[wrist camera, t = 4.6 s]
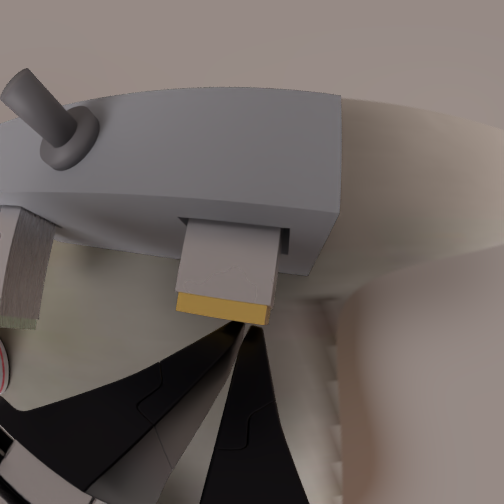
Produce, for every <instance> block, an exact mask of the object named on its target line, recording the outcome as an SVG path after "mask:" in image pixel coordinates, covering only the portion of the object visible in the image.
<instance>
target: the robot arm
mask: <svg viewBox="0 0 504 504" xmlns="http://www.w3.org/2000/svg"><path fill="white" fill-rule="evenodd" d="M244 328H245V323H244V322H240V321H233V320H232V321H231V322H229V323H227V324H225V325H224V326H222V327H220V328H219V329H217V330H215V331H213V332H212V333H210V334H208V335H206V336H205V337H203V338H201V339H199V340H198V341H196V342H194V343H192V344H191V345H189V346H187V347H185V348H183V349H182V350H180V351H178V352H176V353H174V354H173V355H171V356H169V357H167V358H165V359H163V360H162V361H160V363H159V362H157V363H155V364H154V365H152V366H150V367H148V368H146V369H144V370H142V371H140V372H138V373H135V374H133V375H131V376H128V377H126V378H123V379H121V380H118V381H115V382H113V383H110V384H107V385H105V386H102V387H99V388H96V389H93V390H91V391H88V392H85V393H82V394H79V395H76V396H73V397H70V398H67V399H64V400H61V401H58V402H55V403H52V404H49V405H45V406H42V407H39V408H36V409H32V410H29V411H19V410H16V409H15V408H14V407H13V406H12V405H10V404H9V403H8V402H7V401H6V400H5V399H4V398H3V397H2V396H0V425H1V426H2V427H3V428H4V429H5V430H6V431H7V432H8V433H9V434H10V435H11V436H12V437H13V438H14V440H13V439H12V438H11V437H10V436H9V435H8V434H7V433H6V432H5V431H4V430H3V429H2V428H1V427H0V504H156V503H157V501H158V499H159V496H160V494H161V492H162V490H163V487H164V485H165V483H166V481H167V479H168V477H169V475H170V473H171V472H172V469H174V467H175V465H176V464H177V462H178V461H179V459H180V457H181V456H182V454H183V453H184V451H185V449H186V448H187V446H188V445H189V443H190V441H191V440H192V438H193V436H194V435H195V433H196V431H197V430H198V428H199V426H200V425H201V423H202V421H203V420H204V418H205V416H206V415H207V413H208V411H209V410H210V408H211V406H212V405H213V403H214V401H215V399H216V398H217V396H218V394H219V393H220V391H221V389H222V387H223V386H224V384H225V382H226V380H227V378H228V376H229V374H230V372H231V369H232V367H233V364H234V362H235V359H236V356H237V359H236V363H235V367H234V371H233V375H232V379H231V383H230V387H229V391H228V395H227V399H226V403H225V407H224V411H223V415H222V419H221V423H220V427H219V431H218V435H217V438H216V442H215V446H214V451H213V454H212V458H211V462H210V465H209V469H208V473H207V477H206V481H205V485H204V488H203V492H202V496H201V500H200V504H309V502H308V499H307V496H306V494H305V491H304V488H303V486H302V483H301V480H300V478H299V475H298V472H297V470H296V467H295V464H294V462H293V459H292V456H291V453H290V451H289V448H288V445H287V442H286V439H285V436H284V433H283V430H282V427H281V423H280V418H279V414H278V409H277V404H276V400H275V394H274V388H273V383H272V377H271V372H270V366H269V360H268V355H267V349H266V344H265V338H264V332H263V329H262V328H261V327H258V326H254V325H251V326H250V328H249V330H248V332H247V334H246V336H245V338H244V340H243V334H244ZM242 340H243V342H242ZM241 343H242V344H241ZM237 354H238V355H237Z"/></svg>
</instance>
